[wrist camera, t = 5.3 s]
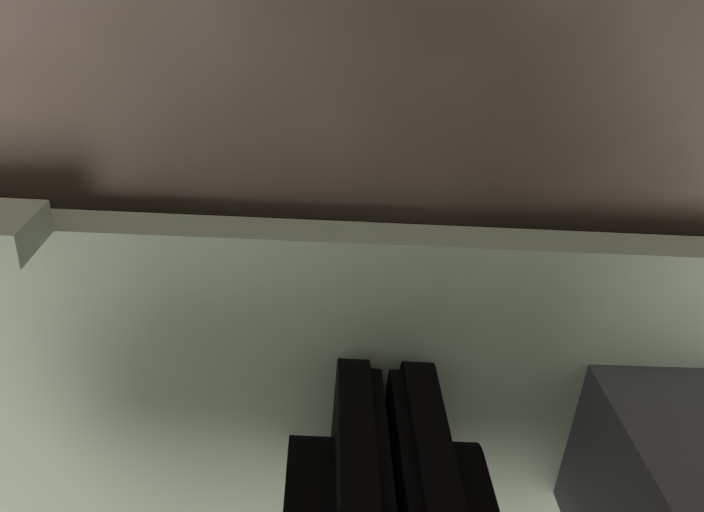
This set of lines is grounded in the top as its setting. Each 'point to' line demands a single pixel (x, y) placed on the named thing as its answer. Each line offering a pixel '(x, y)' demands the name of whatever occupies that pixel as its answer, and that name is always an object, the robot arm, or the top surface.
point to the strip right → (339, 355)
